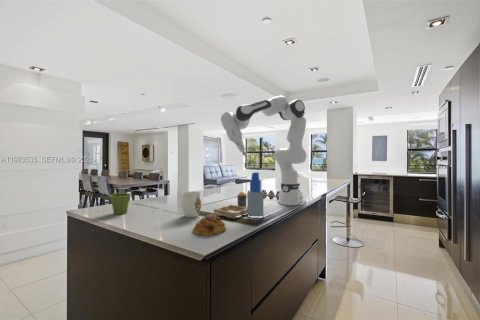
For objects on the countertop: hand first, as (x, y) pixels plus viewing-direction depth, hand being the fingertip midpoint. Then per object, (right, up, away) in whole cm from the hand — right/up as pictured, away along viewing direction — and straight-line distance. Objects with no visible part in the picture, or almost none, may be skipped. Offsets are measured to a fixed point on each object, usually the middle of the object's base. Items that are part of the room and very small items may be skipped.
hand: (243, 153), depth 151 cm
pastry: (-17, -37, -37) cm, 56 cm away
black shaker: (-1, -35, +4) cm, 36 cm away
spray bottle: (+6, -36, -14) cm, 39 cm away
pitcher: (-30, -36, -11) cm, 48 cm away
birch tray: (-7, -36, -9) cm, 38 cm away
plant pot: (-74, -36, -4) cm, 83 cm away
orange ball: (-1, -26, +4) cm, 27 cm away
